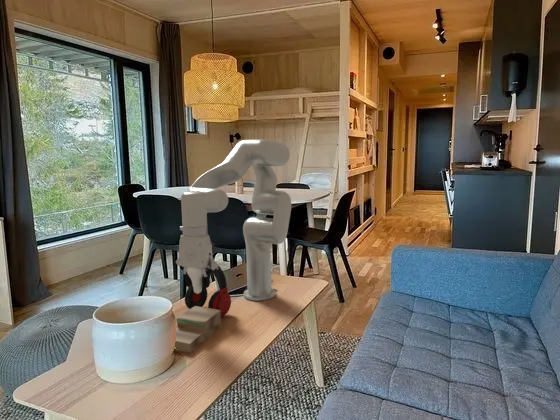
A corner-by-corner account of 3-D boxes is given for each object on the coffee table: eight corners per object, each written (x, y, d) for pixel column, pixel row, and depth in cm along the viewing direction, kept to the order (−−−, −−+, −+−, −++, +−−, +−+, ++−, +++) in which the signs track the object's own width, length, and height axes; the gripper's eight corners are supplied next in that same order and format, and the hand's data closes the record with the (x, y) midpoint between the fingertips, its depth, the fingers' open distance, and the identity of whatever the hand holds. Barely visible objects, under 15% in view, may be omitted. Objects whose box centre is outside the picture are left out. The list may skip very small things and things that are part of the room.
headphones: (235, 314, 145) (233, 260, 141) (215, 324, 137) (213, 267, 134) (201, 303, 155) (199, 252, 152) (181, 312, 147) (178, 259, 144)
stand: (195, 322, 139) (194, 305, 138) (221, 327, 135) (220, 310, 134) (162, 347, 122) (160, 328, 121) (190, 353, 119) (189, 334, 118)
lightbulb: (210, 294, 129) (208, 261, 127) (191, 298, 126) (189, 264, 124) (204, 288, 134) (202, 256, 132) (186, 292, 131) (184, 259, 130)
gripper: (164, 231, 126) (168, 287, 129) (212, 235, 120) (214, 294, 123) (179, 226, 133) (182, 279, 136) (225, 230, 127) (227, 285, 130)
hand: (197, 285), depth 130 cm, fingers closed on lightbulb, 5 cm apart
